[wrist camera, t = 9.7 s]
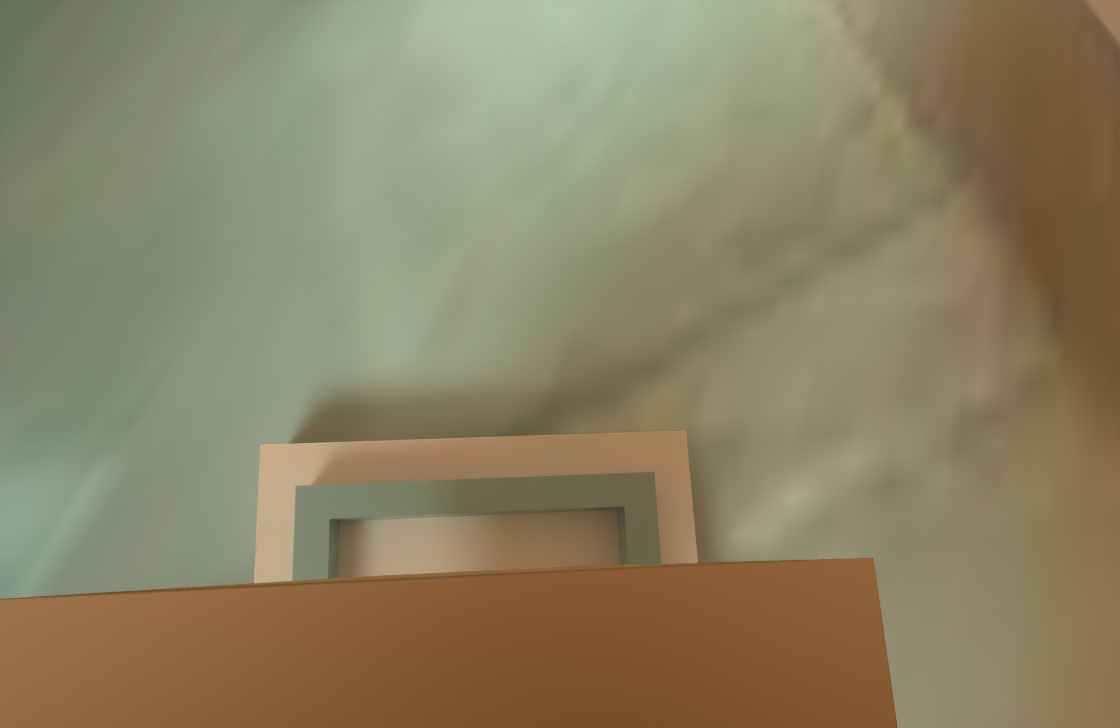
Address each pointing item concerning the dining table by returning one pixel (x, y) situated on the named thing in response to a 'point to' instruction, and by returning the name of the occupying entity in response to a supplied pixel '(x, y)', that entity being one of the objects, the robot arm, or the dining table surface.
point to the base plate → (473, 504)
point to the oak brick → (463, 651)
